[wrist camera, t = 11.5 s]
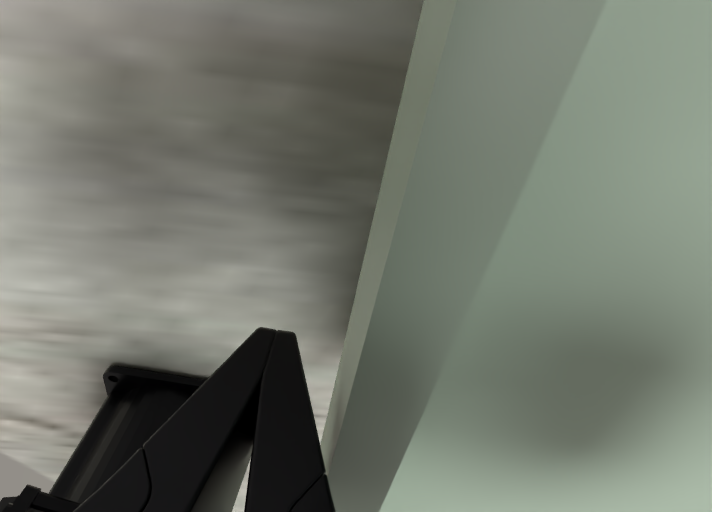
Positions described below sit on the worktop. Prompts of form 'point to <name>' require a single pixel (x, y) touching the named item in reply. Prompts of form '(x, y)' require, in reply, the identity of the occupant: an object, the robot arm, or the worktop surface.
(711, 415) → the lid
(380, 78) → the worktop surface
